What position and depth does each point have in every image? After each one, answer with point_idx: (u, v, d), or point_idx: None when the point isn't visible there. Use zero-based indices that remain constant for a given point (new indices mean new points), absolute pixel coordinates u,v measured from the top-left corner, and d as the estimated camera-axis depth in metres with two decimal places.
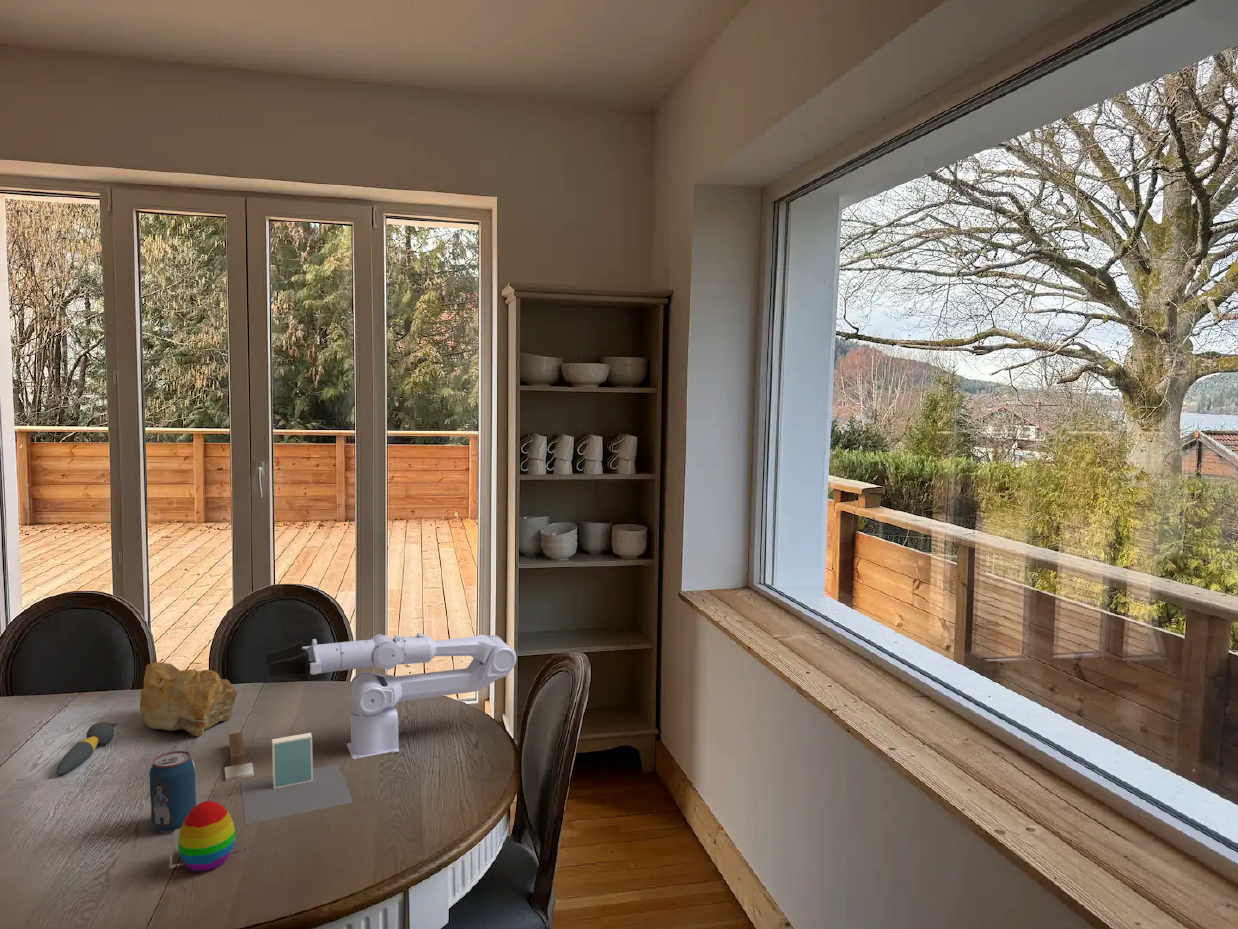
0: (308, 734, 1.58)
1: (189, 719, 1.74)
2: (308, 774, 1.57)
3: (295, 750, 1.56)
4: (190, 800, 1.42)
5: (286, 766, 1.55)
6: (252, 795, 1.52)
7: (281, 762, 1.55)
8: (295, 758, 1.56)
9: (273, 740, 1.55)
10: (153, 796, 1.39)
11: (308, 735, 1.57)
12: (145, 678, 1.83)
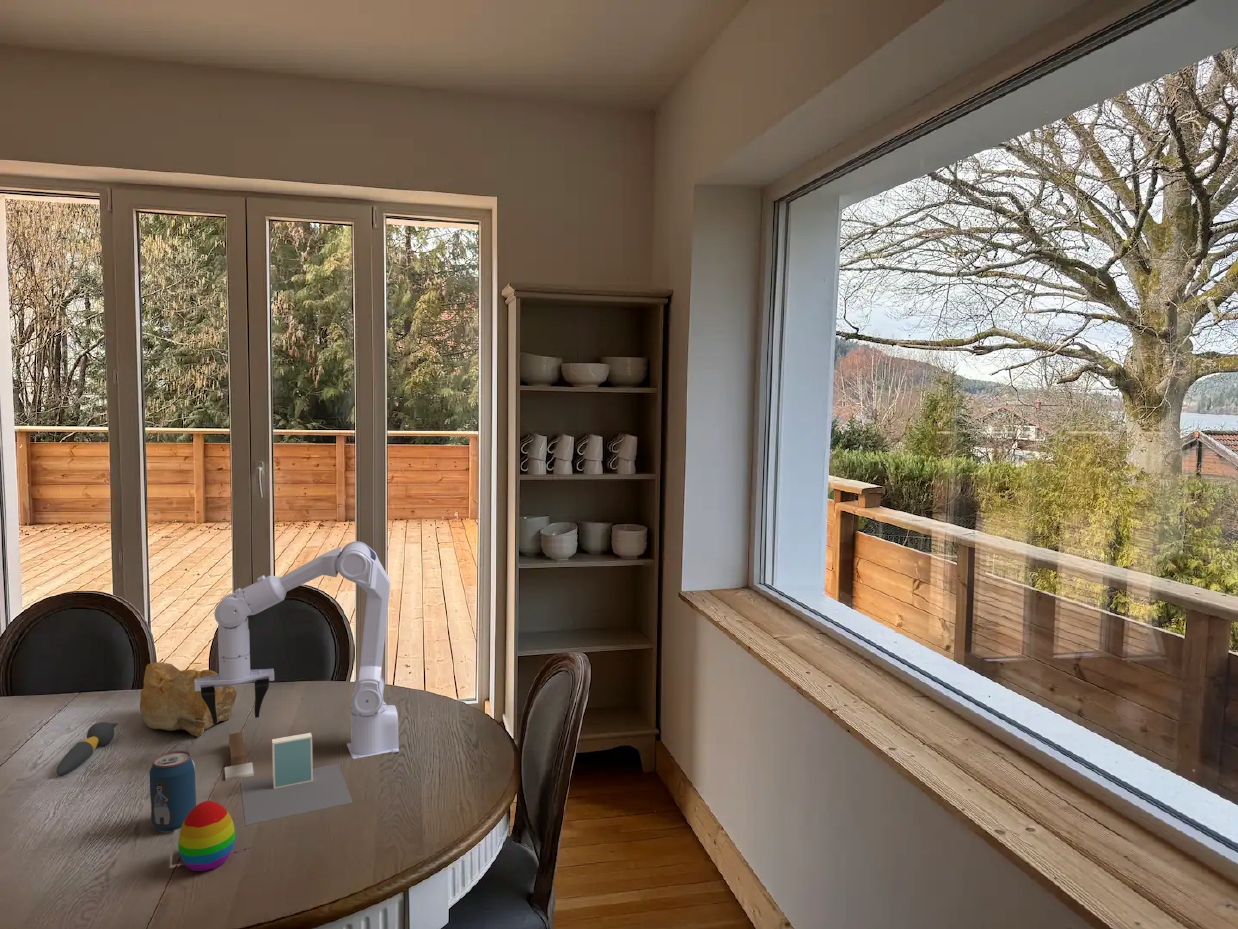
0: (308, 734, 1.58)
1: (189, 719, 1.74)
2: (308, 774, 1.57)
3: (295, 750, 1.56)
4: (190, 800, 1.42)
5: (286, 766, 1.55)
6: (252, 795, 1.52)
7: (281, 762, 1.55)
8: (295, 758, 1.56)
9: (273, 740, 1.55)
10: (153, 796, 1.39)
11: (308, 735, 1.57)
12: (145, 678, 1.83)
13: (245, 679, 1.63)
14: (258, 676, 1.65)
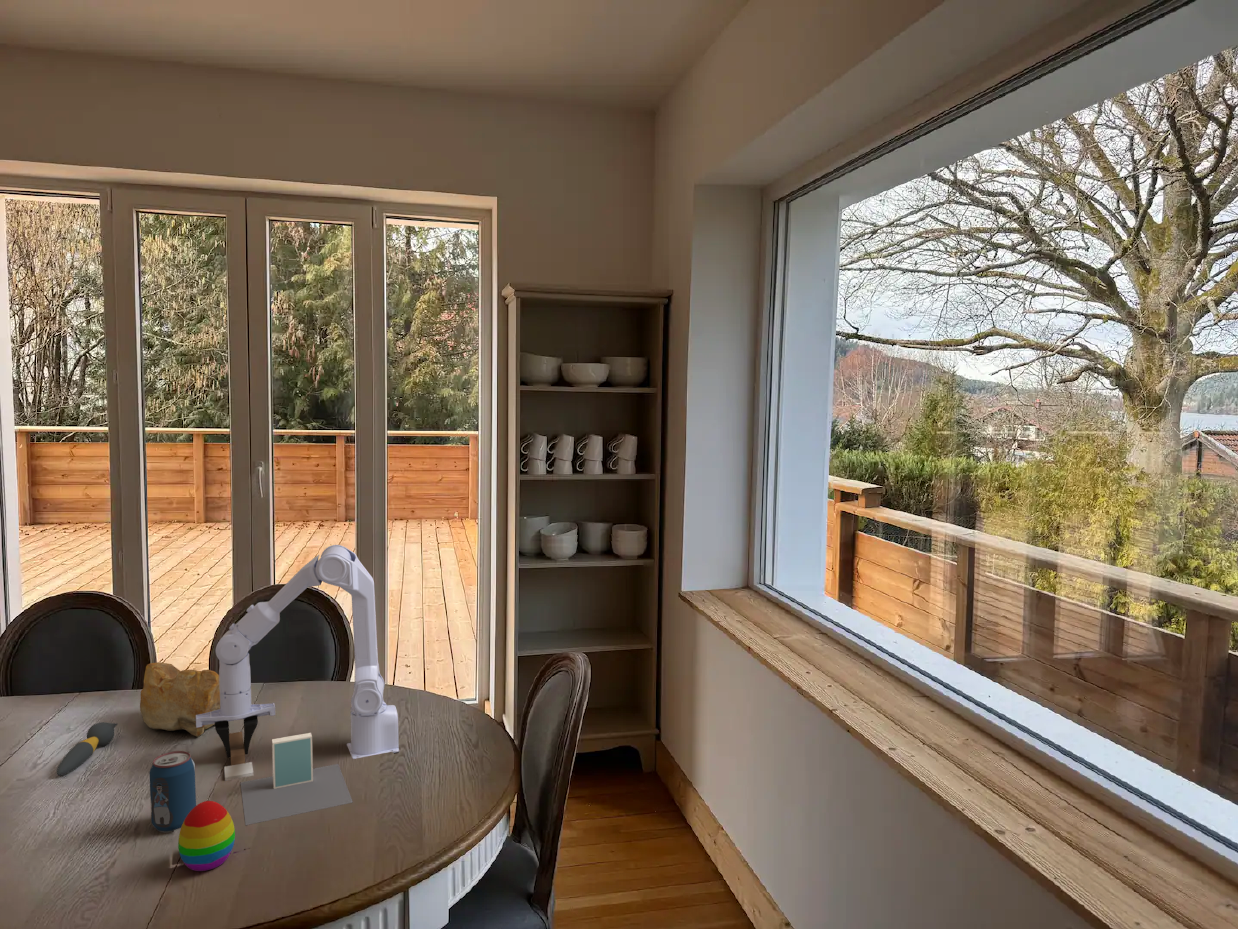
0: (308, 734, 1.58)
1: (189, 719, 1.74)
2: (308, 774, 1.57)
3: (295, 750, 1.56)
4: (190, 800, 1.42)
5: (286, 766, 1.55)
6: (252, 795, 1.52)
7: (281, 762, 1.55)
8: (295, 758, 1.56)
9: (273, 740, 1.55)
10: (153, 796, 1.39)
11: (308, 735, 1.57)
12: (145, 678, 1.83)
13: (246, 715, 1.64)
14: (259, 711, 1.66)
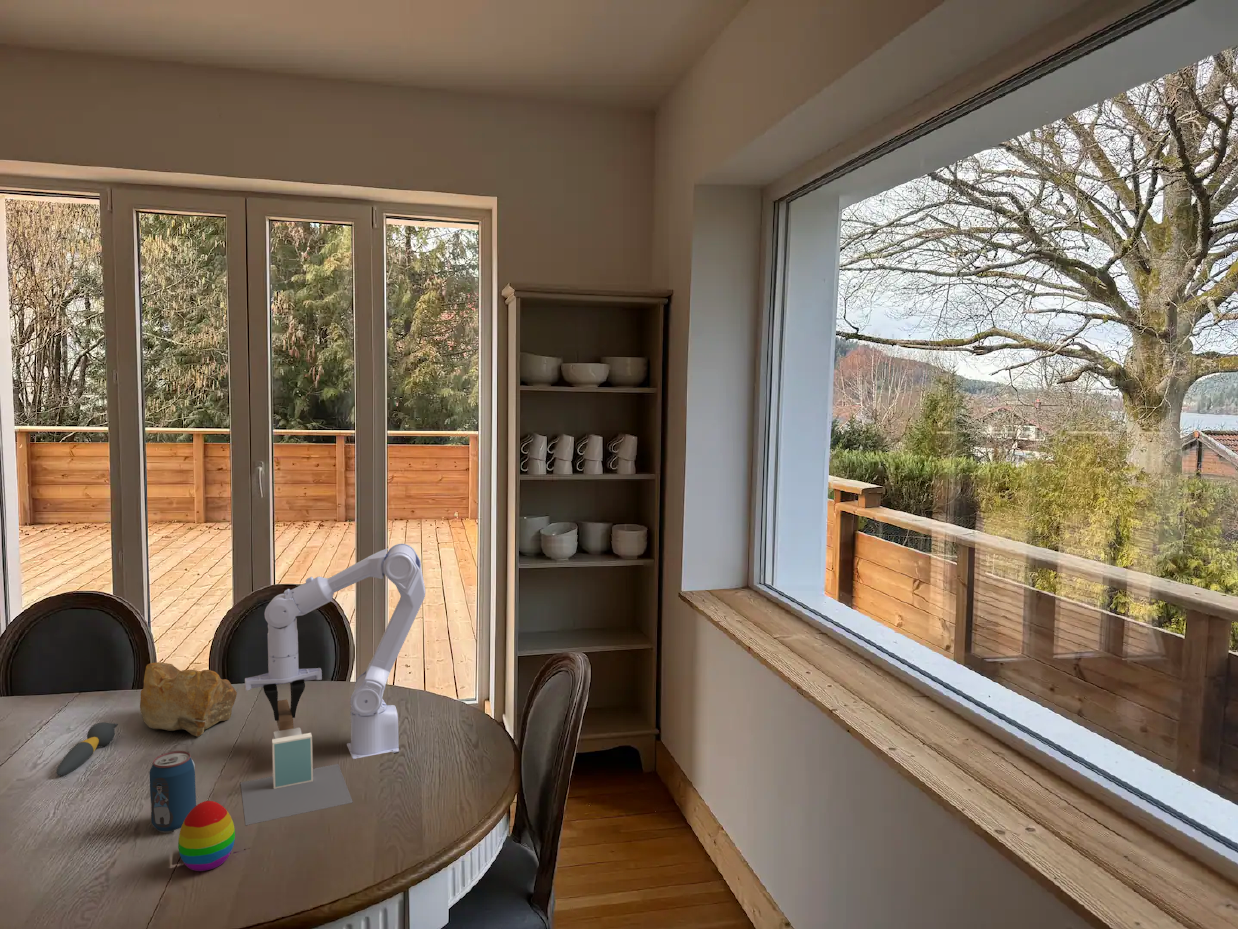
0: (308, 734, 1.58)
1: (189, 719, 1.74)
2: (308, 774, 1.57)
3: (295, 750, 1.56)
4: (190, 800, 1.42)
5: (286, 766, 1.55)
6: (252, 795, 1.52)
7: (281, 762, 1.55)
8: (295, 758, 1.56)
9: (273, 740, 1.55)
10: (153, 796, 1.39)
11: (308, 735, 1.57)
12: (145, 678, 1.83)
13: (294, 678, 1.66)
14: (306, 675, 1.68)
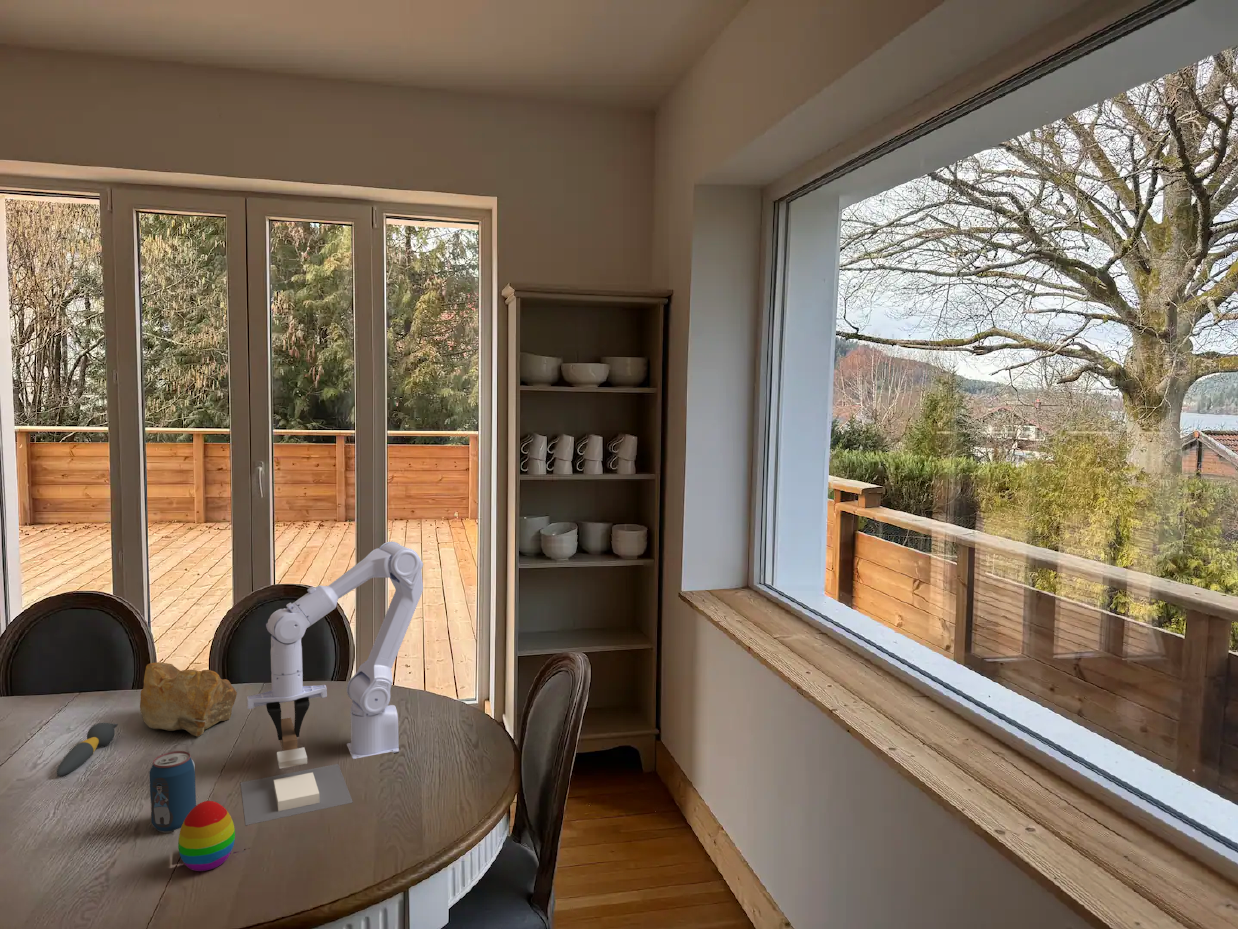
0: (316, 797, 1.49)
1: (189, 719, 1.74)
2: None
3: None
4: (190, 800, 1.42)
5: None
6: (252, 795, 1.52)
7: None
8: None
9: (279, 805, 1.47)
10: (153, 796, 1.39)
11: (316, 800, 1.49)
12: (145, 678, 1.83)
13: (298, 696, 1.60)
14: (311, 693, 1.62)
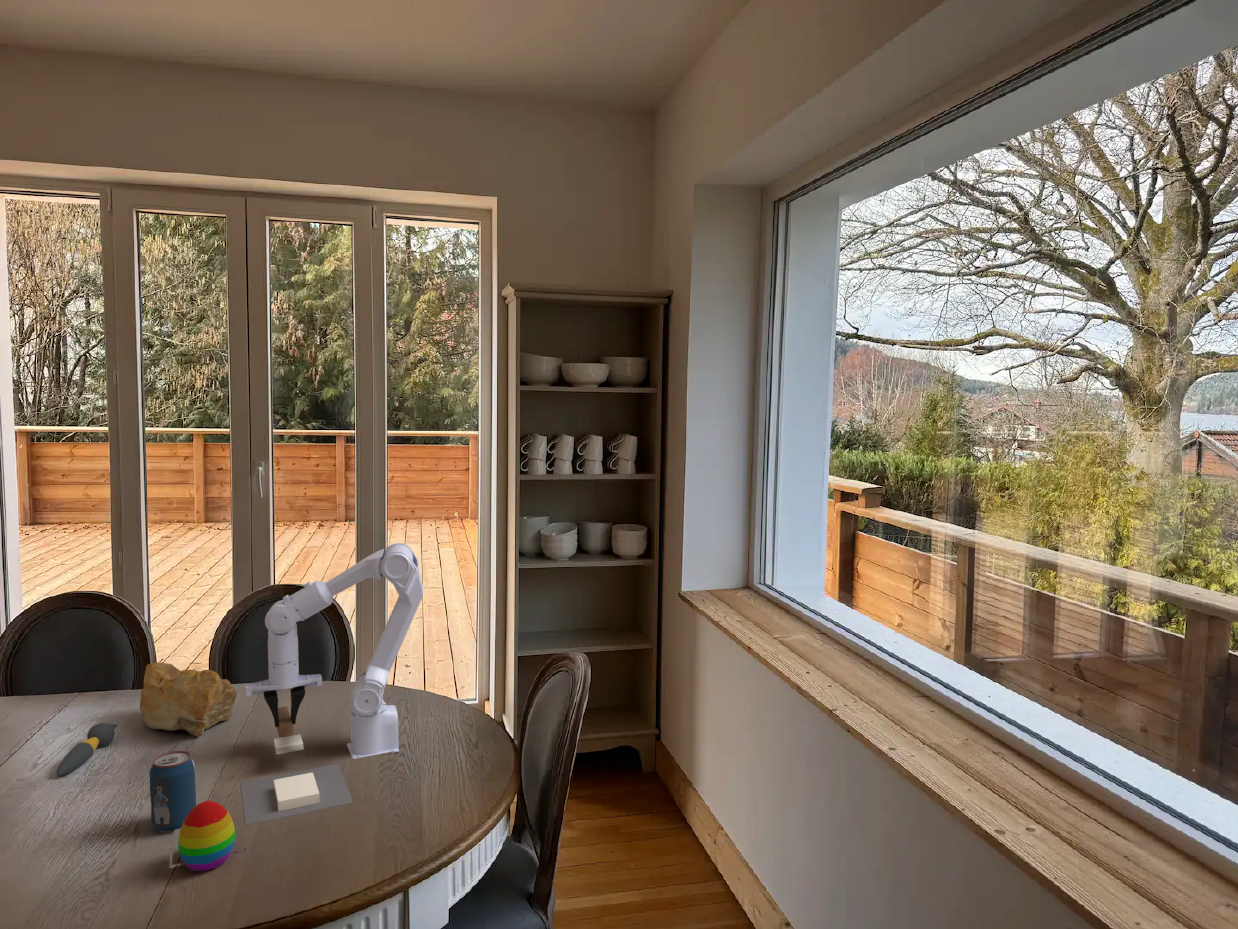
0: (316, 797, 1.49)
1: (189, 719, 1.74)
2: None
3: None
4: (190, 800, 1.42)
5: None
6: (252, 795, 1.52)
7: None
8: None
9: (279, 805, 1.47)
10: (153, 796, 1.39)
11: (316, 800, 1.49)
12: (145, 678, 1.83)
13: (294, 685, 1.66)
14: (307, 682, 1.68)
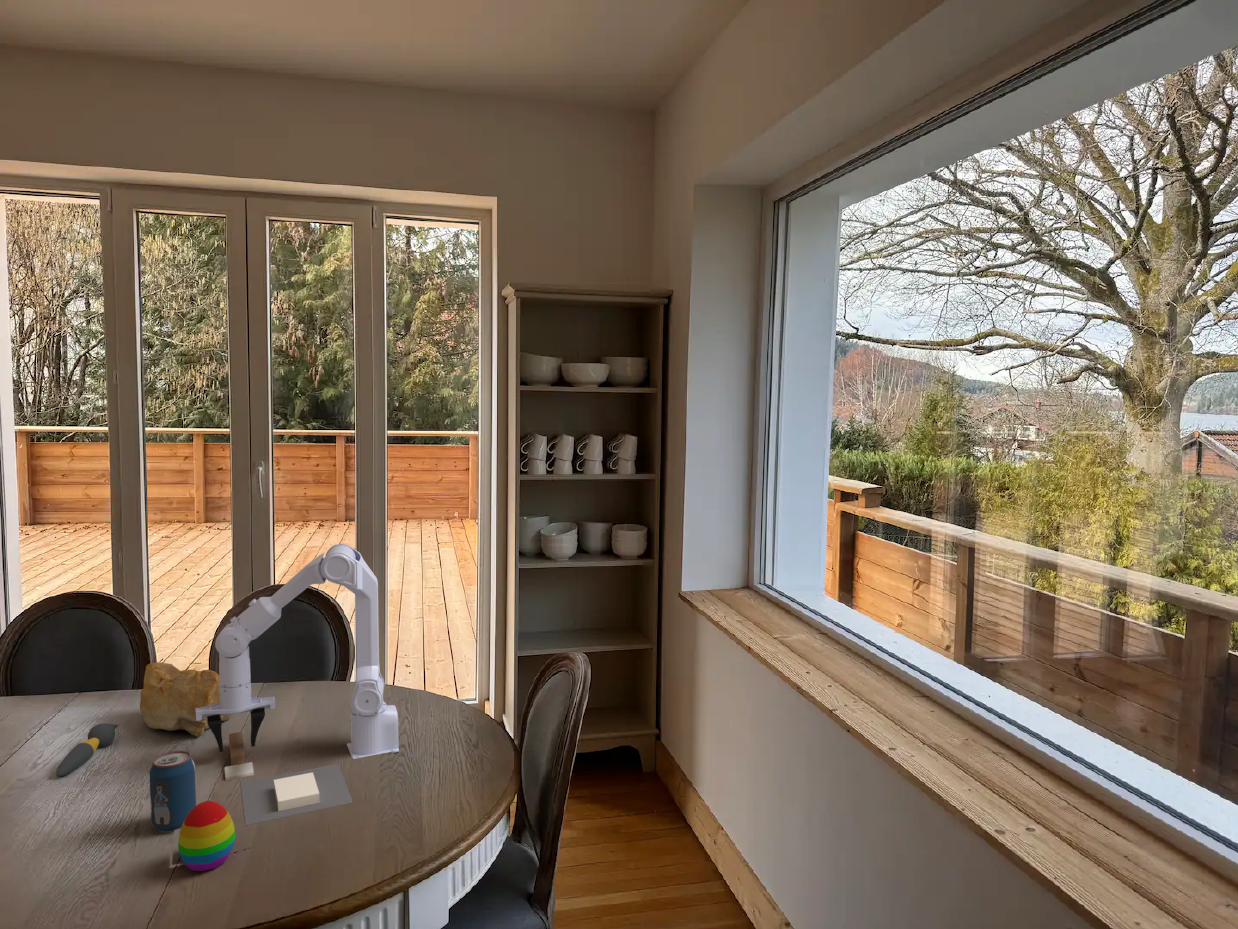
0: (316, 797, 1.49)
1: (189, 719, 1.74)
2: None
3: None
4: (190, 800, 1.42)
5: None
6: (252, 795, 1.52)
7: None
8: None
9: (279, 805, 1.47)
10: (153, 796, 1.39)
11: (316, 800, 1.49)
12: (145, 678, 1.83)
13: (246, 708, 1.64)
14: (259, 705, 1.66)
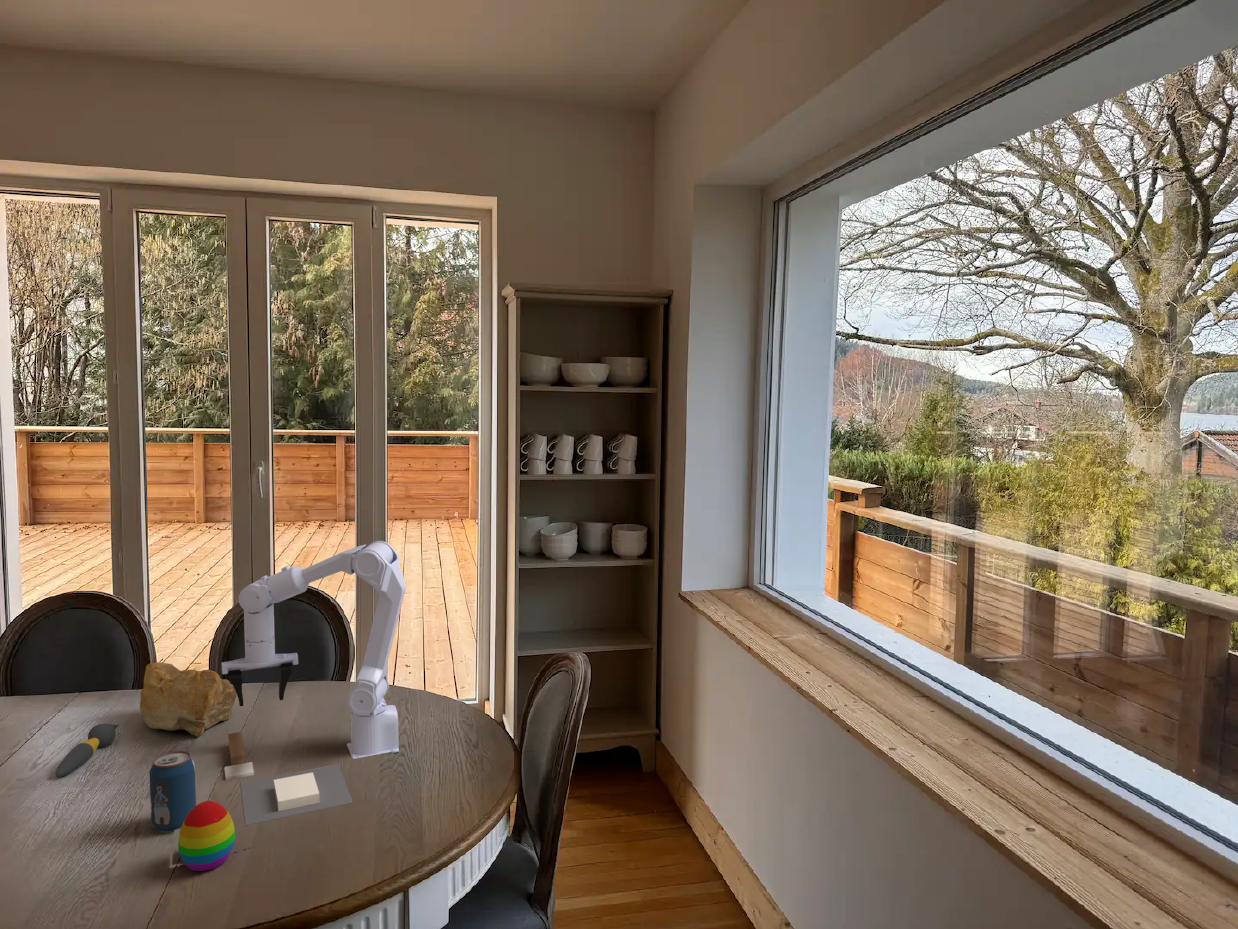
0: (316, 797, 1.49)
1: (189, 719, 1.74)
2: None
3: None
4: (190, 800, 1.42)
5: None
6: (252, 795, 1.52)
7: None
8: None
9: (279, 805, 1.47)
10: (153, 796, 1.39)
11: (316, 800, 1.49)
12: (145, 678, 1.83)
13: (270, 662, 1.69)
14: (283, 660, 1.71)
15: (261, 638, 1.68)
